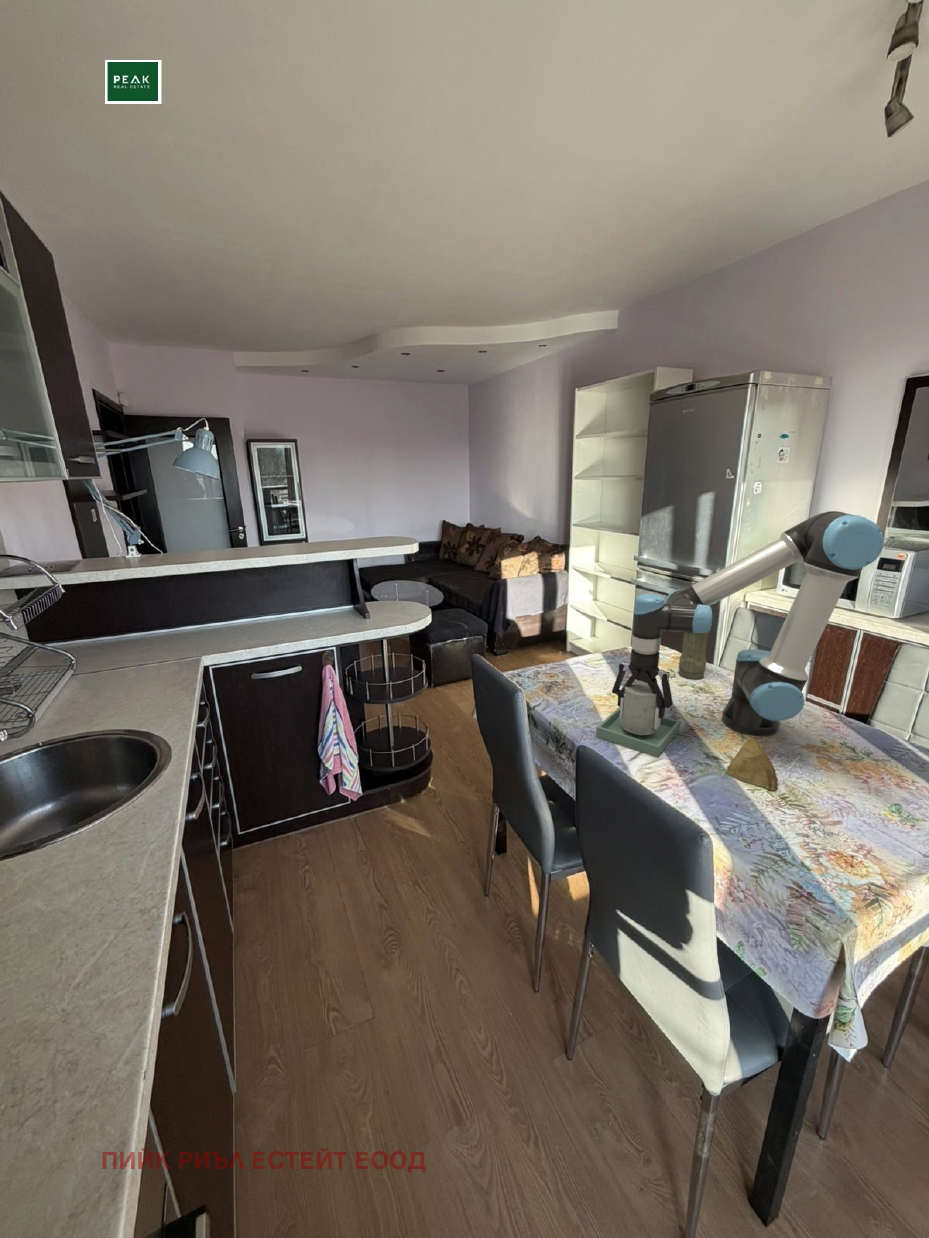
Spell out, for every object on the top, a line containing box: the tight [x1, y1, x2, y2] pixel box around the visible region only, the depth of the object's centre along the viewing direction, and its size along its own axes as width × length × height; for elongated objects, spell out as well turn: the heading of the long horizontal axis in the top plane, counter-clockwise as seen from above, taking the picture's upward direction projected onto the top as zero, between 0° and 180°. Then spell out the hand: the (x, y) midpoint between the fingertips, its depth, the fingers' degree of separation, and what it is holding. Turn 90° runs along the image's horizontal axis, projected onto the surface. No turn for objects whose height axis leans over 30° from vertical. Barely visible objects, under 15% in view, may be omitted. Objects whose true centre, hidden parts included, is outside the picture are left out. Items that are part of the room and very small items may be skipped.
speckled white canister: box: [622, 680, 658, 735], centre depth 147 cm, size 10×10×12 cm
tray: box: [595, 706, 681, 759], centre depth 149 cm, size 18×18×3 cm
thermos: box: [678, 581, 712, 681], centre depth 183 cm, size 9×12×35 cm
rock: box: [724, 738, 779, 791], centre depth 125 cm, size 11×9×10 cm
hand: (639, 721), depth 148 cm, fingers closed on speckled white canister, 9 cm apart
